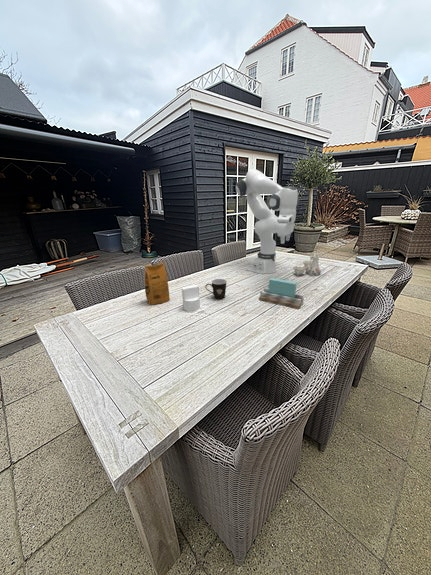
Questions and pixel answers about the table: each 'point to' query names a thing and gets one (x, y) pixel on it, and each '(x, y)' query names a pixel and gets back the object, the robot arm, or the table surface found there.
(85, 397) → the table surface
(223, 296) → the coffee mug
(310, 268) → the chinaware
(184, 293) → the base with upright slab
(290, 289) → the door panel
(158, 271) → the coffee package
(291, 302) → the bottom track
